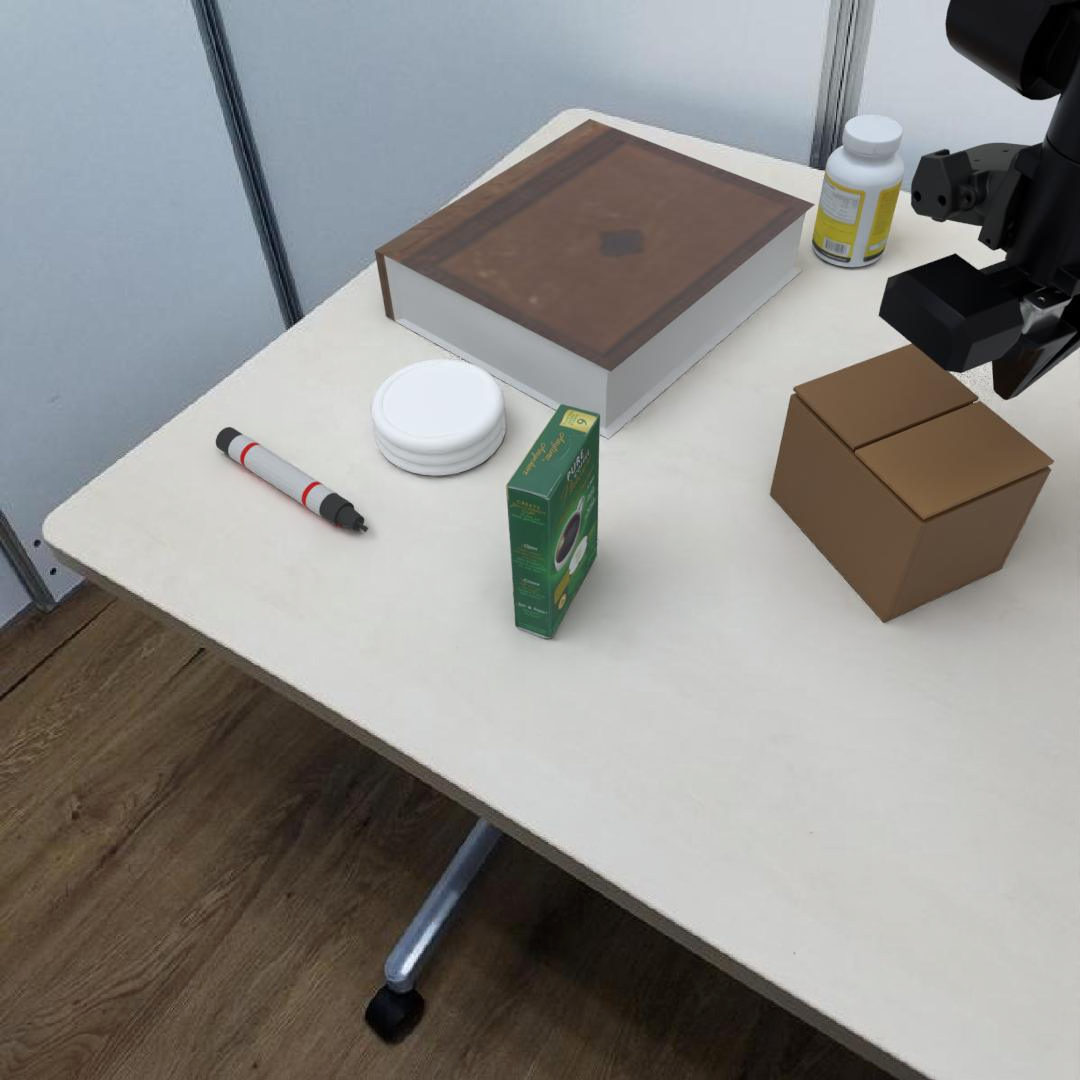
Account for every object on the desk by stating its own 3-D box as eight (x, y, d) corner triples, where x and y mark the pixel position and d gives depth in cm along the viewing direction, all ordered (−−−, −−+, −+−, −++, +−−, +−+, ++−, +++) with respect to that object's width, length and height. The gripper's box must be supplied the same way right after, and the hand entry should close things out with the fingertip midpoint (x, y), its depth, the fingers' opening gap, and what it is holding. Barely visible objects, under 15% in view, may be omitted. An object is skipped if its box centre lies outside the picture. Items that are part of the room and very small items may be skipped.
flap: (1052, 464, 60) (1054, 460, 60) (923, 519, 58) (924, 516, 57) (979, 403, 64) (980, 400, 64) (854, 453, 62) (855, 450, 61)
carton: (1001, 568, 68) (1056, 461, 60) (883, 622, 65) (924, 517, 57) (879, 450, 75) (914, 341, 68) (769, 494, 73) (792, 386, 65)
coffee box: (562, 541, 70) (559, 397, 60) (600, 553, 69) (604, 410, 60) (511, 627, 66) (500, 487, 56) (552, 642, 65) (547, 502, 55)
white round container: (350, 453, 77) (342, 419, 74) (420, 376, 82) (415, 341, 80) (464, 496, 73) (460, 461, 71) (529, 412, 79) (527, 377, 76)
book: (386, 316, 88) (374, 250, 83) (589, 182, 101) (589, 118, 96) (608, 439, 77) (610, 371, 72) (802, 270, 90) (815, 204, 85)
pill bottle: (887, 236, 94) (919, 114, 85) (878, 276, 90) (911, 152, 81) (816, 225, 95) (840, 104, 86) (804, 263, 91) (828, 141, 82)
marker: (219, 455, 77) (212, 436, 75) (239, 440, 78) (232, 421, 76) (361, 548, 70) (356, 529, 69) (381, 531, 71) (377, 512, 70)
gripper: (1120, 36, 55) (1024, 279, 67) (843, 118, 50) (792, 365, 62) (1303, 122, 49) (1161, 375, 60) (1006, 228, 44) (914, 481, 55)
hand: (1004, 394), depth 60 cm, fingers closed
